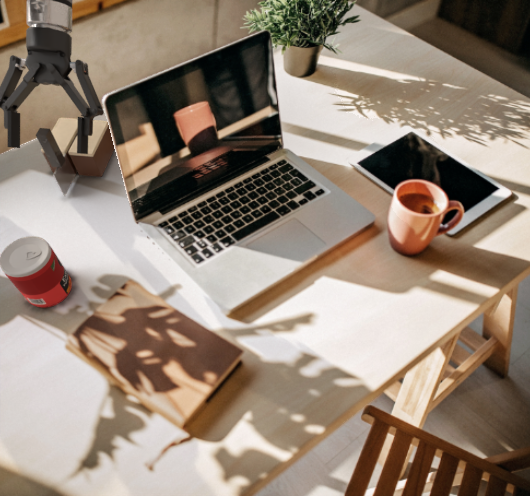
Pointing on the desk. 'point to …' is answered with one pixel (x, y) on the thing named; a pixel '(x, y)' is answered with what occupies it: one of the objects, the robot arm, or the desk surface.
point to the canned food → (36, 271)
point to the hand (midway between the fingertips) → (47, 150)
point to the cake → (97, 146)
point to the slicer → (56, 160)
